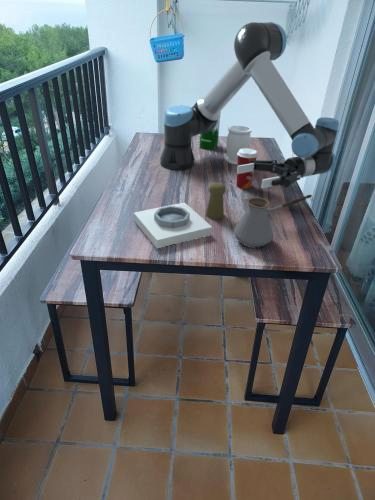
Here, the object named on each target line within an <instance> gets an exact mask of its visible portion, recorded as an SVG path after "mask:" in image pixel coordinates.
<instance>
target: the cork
mask: <svg viewBox="0 0 375 500" xmlns="http://www.w3.org/2000/svg"><path fill="white" fill-rule="evenodd" d="M208 192H209V198H208V203H207V208H206V212H205V216H206V217H207V218H208V217H209V219H211V220H221V219H223V218H224V216H225V213H224V194H225V192H226V186H225V184H223V183H221V182H213V183H211V184H210V185H209V187H208Z"/></svg>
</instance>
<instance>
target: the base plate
mask: <svg viewBox="0 0 375 500" xmlns="http://www.w3.org/2000/svg"><path fill="white" fill-rule="evenodd" d="M133 221H134V222H135V224H136V225H137V226H138V228H139V229H140V230H141V232H143V234H144V235H145V236H146V238H148V240H149V241H150V242H151V244H152V245H153V246H154V248H155V249H156V250H159V249H158V248H160V249H162V248H161V247H164V248H166V247H165V246H168V247H170V246H169V245H172V244H176V245H178V244H177V243H180V244H182V243H181V242H184V243H186V242H185V241H187V242H190V241H189V240H191V241H194V240H193V239H195V240H197V239H196V238H199V239H201V238H200V237H203V238H205V237H204V236H207V237H210V236H209V235H211V236H212V233H213V226H212V225H210V223H208V222H207V221H206V220H205V219H204V218H203V217H202V216H200V215H199V213H197V212H196V211H195V210H194V209H193V208H191V207H190V206H189V205H188V204H187V203H185V202H180V203H175V204H170V205H165V206H161V207H156V208H155V207H154V208H150V209H145V210H140V211H136V212H133ZM172 246H173V245H172Z"/></svg>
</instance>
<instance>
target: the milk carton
mask: <svg viewBox="0 0 375 500" xmlns="http://www.w3.org/2000/svg"><path fill="white" fill-rule="evenodd" d="M221 113H222V110H221V111H220V115H221ZM220 122H221V116H220V117H219V119H218V123H217V125H216V127H215V128H214V129H213V130H211V131H210V132H208V133H203V134H199V148H200V149H203V148H204V150H209V149H210V150H211V151H214V150H213V149H214V148H215V149H216V148H217V147H218V143H219V136H220V135H219V134H220Z"/></svg>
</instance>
